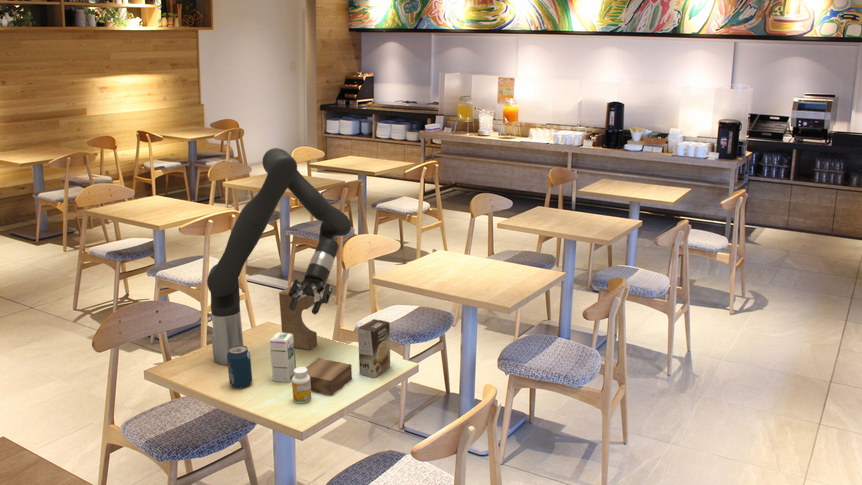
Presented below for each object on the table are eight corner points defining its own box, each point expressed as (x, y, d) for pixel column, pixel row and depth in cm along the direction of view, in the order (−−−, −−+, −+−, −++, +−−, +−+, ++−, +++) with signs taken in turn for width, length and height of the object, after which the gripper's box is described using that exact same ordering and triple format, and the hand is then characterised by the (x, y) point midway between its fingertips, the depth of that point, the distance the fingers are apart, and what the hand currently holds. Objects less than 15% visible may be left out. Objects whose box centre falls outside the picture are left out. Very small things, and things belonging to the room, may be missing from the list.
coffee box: (375, 378, 229) (373, 331, 224) (359, 374, 232) (357, 327, 227) (391, 367, 236) (390, 321, 232) (375, 363, 239) (373, 318, 235)
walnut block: (298, 388, 223) (297, 373, 222) (319, 372, 233) (319, 357, 232) (331, 395, 218) (330, 380, 217) (351, 378, 229) (351, 364, 227)
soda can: (256, 380, 229) (253, 345, 225) (246, 390, 222) (243, 354, 219) (236, 378, 230) (232, 343, 227) (225, 388, 223) (222, 353, 220)
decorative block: (317, 344, 254) (314, 291, 249) (309, 350, 249) (306, 296, 244) (290, 340, 258) (287, 287, 253) (282, 346, 253) (278, 292, 248)
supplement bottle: (294, 395, 219) (292, 366, 216) (312, 394, 219) (310, 365, 216) (292, 404, 213) (290, 374, 211) (310, 403, 214) (308, 373, 211)
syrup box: (290, 383, 226) (286, 340, 222) (272, 381, 228) (269, 338, 224) (296, 374, 232) (293, 333, 228) (279, 373, 233) (276, 331, 229)
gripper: (296, 260, 242) (279, 303, 235) (333, 264, 236) (316, 309, 229) (307, 270, 248) (289, 313, 241) (342, 275, 242) (326, 319, 235)
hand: (302, 311), depth 235 cm, fingers open, 8 cm apart
